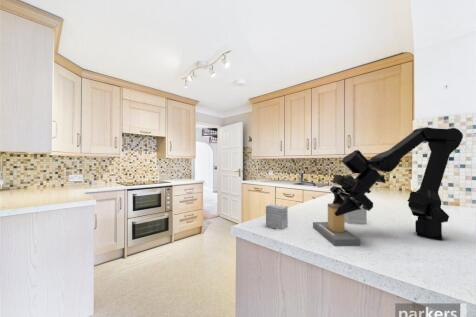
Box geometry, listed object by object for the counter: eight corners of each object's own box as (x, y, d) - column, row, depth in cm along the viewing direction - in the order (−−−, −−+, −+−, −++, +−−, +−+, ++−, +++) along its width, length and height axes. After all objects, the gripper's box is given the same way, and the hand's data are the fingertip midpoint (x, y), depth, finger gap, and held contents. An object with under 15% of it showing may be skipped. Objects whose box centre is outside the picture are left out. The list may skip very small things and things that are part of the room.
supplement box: (367, 225, 85) (367, 195, 85) (347, 224, 87) (347, 194, 87) (360, 220, 92) (360, 192, 92) (342, 219, 94) (342, 192, 94)
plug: (338, 230, 75) (338, 203, 75) (344, 234, 71) (344, 205, 71) (327, 230, 75) (327, 203, 75) (333, 234, 71) (332, 205, 71)
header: (332, 228, 82) (332, 221, 82) (360, 247, 64) (360, 238, 64) (313, 228, 82) (312, 221, 82) (335, 247, 64) (334, 238, 64)
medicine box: (288, 228, 82) (288, 206, 82) (282, 231, 79) (282, 208, 79) (271, 224, 88) (271, 203, 88) (265, 226, 84) (265, 205, 84)
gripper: (334, 166, 83) (307, 193, 82) (363, 167, 64) (328, 203, 64) (353, 185, 83) (326, 212, 82) (388, 192, 64) (353, 228, 64)
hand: (332, 213), depth 73 cm, fingers closed on plug, 4 cm apart
